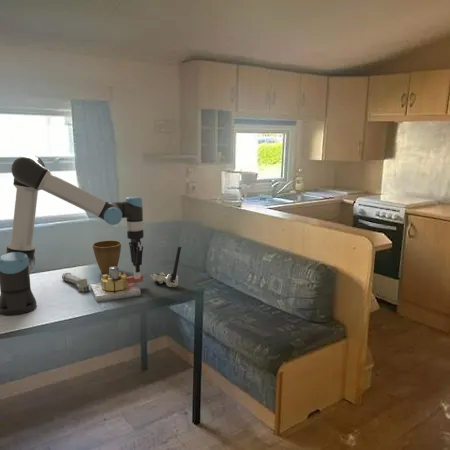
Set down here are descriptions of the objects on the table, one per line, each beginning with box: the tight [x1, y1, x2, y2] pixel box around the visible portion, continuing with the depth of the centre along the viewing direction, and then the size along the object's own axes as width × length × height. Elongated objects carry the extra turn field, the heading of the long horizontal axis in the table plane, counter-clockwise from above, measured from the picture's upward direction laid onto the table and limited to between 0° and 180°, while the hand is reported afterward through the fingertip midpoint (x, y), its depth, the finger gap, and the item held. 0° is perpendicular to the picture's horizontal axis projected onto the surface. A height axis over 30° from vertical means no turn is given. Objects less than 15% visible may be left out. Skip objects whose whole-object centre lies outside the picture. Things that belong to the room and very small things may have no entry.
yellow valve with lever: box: [100, 271, 144, 291], centre depth 218 cm, size 20×12×5 cm, turn 125°
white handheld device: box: [61, 272, 90, 292], centre depth 226 cm, size 5×7×25 cm
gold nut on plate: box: [89, 266, 142, 302], centre depth 215 cm, size 20×18×12 cm
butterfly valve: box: [150, 246, 182, 288], centre depth 229 cm, size 9×20×17 cm
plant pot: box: [92, 239, 122, 275], centre depth 247 cm, size 15×15×16 cm
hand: (137, 278), depth 220 cm, fingers closed
